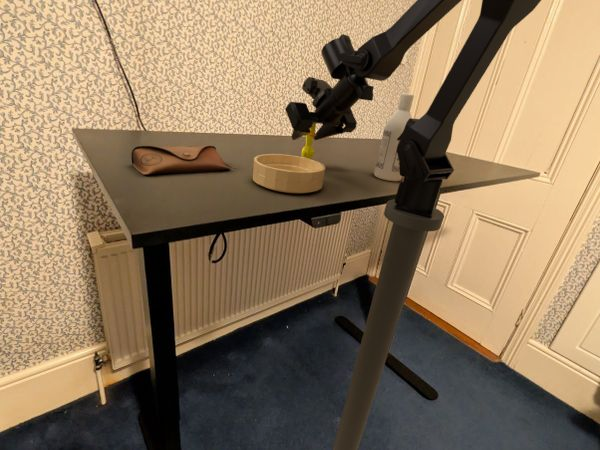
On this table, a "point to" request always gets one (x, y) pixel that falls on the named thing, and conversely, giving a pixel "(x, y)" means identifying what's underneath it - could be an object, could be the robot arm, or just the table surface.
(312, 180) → the bowl
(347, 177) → the table surface
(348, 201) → the table surface
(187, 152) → the sunglasses case
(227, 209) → the table surface
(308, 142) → the toy figure
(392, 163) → the bath foam
